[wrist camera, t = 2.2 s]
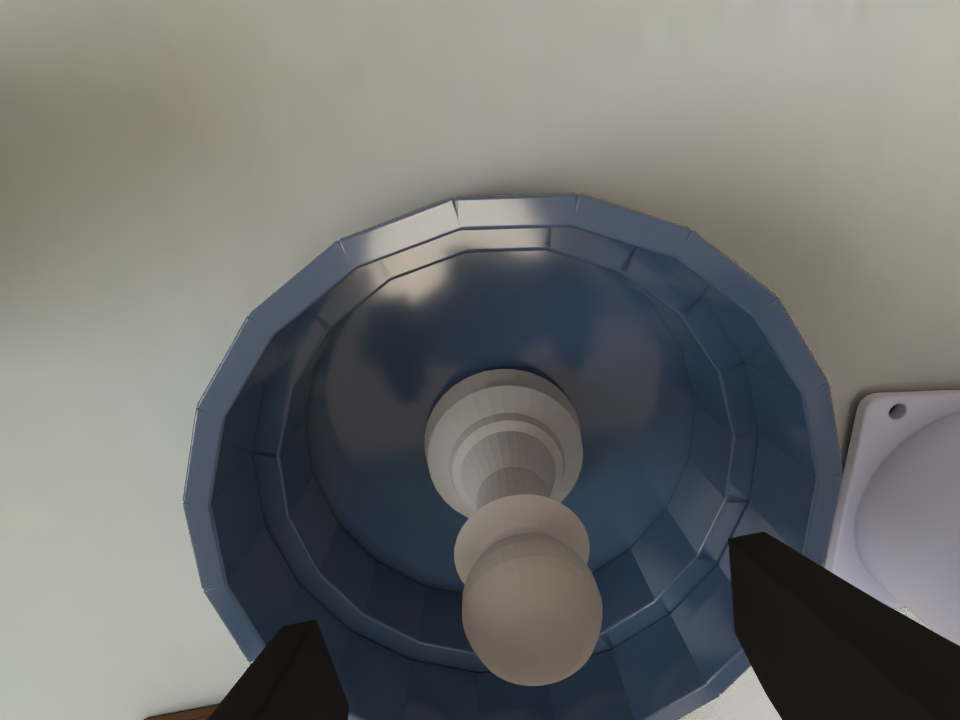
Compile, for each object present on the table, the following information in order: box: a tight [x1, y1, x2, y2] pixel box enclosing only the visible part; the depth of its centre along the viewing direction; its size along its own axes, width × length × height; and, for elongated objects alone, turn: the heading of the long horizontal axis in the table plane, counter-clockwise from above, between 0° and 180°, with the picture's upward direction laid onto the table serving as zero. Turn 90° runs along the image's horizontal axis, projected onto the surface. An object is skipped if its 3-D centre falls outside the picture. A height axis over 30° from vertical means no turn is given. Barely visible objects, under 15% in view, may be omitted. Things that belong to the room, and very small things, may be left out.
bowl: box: [183, 193, 843, 720], centre depth 14 cm, size 14×14×5 cm
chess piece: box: [425, 369, 603, 686], centre depth 12 cm, size 5×5×8 cm
